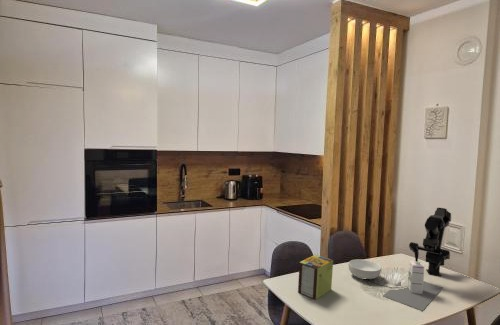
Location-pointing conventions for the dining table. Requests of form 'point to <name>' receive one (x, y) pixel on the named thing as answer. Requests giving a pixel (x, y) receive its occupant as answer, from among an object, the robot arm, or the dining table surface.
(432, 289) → the rubber mat
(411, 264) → the syrup box
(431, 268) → the robot arm
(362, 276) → the cereal bowl
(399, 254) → the dining table surface
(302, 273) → the protein box
